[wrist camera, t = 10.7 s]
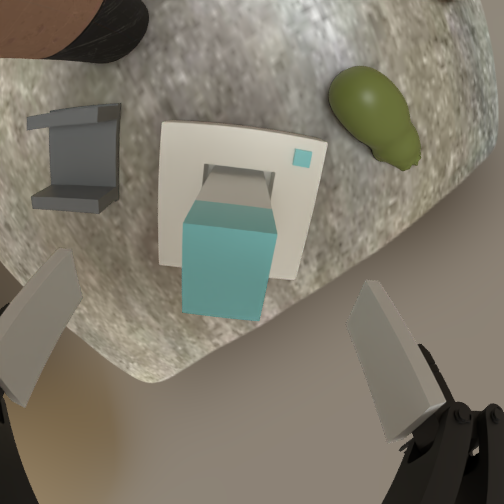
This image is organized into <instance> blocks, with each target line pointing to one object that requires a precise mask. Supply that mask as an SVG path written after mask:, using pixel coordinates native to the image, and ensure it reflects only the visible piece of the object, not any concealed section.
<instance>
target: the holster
mask: <svg viewBox="0 0 504 504" xmlns="http://www.w3.org/2000/svg"><path fill="white" fill-rule="evenodd" d="M120 110H121V103H118V104H103V105H91V106H82V107H73V108H66V109H59V110H53V111H50V113H46V114H41V115H35V116H30V117H27V130H32V129H39V128H46V127H49V152H50V172H51V185H50V186H48V187H47V188H45V189H43V190H41V191H40V192H38V193H36V194H35V195H33V196H31V200H32V207H33V209H45V210H58V211H71V212H84V213H96V214H99V213H101V212H102V211H103V210H104V209H105V208H106V207H108V206H109V205H110V204H111V203H112V202H114V201H117V200H119V185H118V150H119V125H120Z"/></svg>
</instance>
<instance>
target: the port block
mask: <svg viewBox="0 0 504 504" xmlns="http://www.w3.org/2000/svg"><path fill="white" fill-rule="evenodd" d="M327 145H328V143H327V142H325V141H323V140H321V139H319V138H315V137H311V136H306V135H300V134H295V133H290V132H284V131H278V130H271V129H265V128H258V127H251V126H243V125H234V124H224V123H214V122H201V121H185V120H170V121H165V122H162V129H161V142H160V159H159V184H158V247H159V265H166V266H173V267H181V268H182V233H183V222H184V220H185V218H186V216H187V214H188V212H189V211H190V209H191V207H192V205H193V203H194V201H195V199H196V198H197V196H198V194H199V192H200V190H201V188H202V187H203V185H204V183H205V181H206V180H207V178H208V176H209V174H210V173H211V171H212V169H213V167H214V166H215V165H219V166H229V167H237V168H245V169H253V170H260V171H263V172H264V176H265V180H266V185H267V189H268V193H269V198H270V202H271V207H272V211H273V216H274V220H275V225H276V229H277V234H278V235H277V240H276V245H275V249H274V254H273V259H272V264H271V269H270V274H269V278H278V279H287V280H296V276H297V272H298V269H299V265H300V261H301V257H302V253H303V249H304V246H305V242H306V238H307V234H308V230H309V225H310V221H311V217H312V213H313V209H314V205H315V200H316V196H317V191H318V187H319V183H320V178H321V173H322V169H323V164H324V159H325V155H326V150H327Z"/></svg>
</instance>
